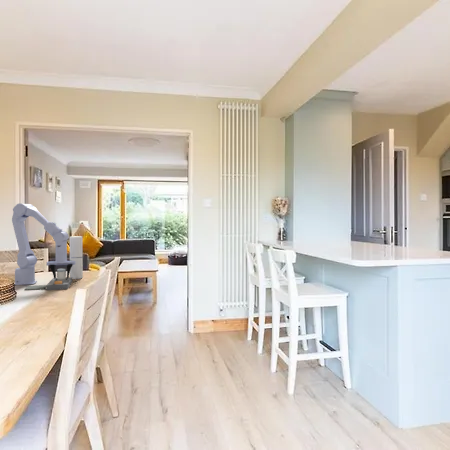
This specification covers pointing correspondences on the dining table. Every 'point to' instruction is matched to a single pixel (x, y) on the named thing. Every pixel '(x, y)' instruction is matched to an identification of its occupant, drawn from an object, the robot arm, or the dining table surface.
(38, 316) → the dining table surface
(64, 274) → the cylinder
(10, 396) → the dining table surface
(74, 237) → the cylindrical container
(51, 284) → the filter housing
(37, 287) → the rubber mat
